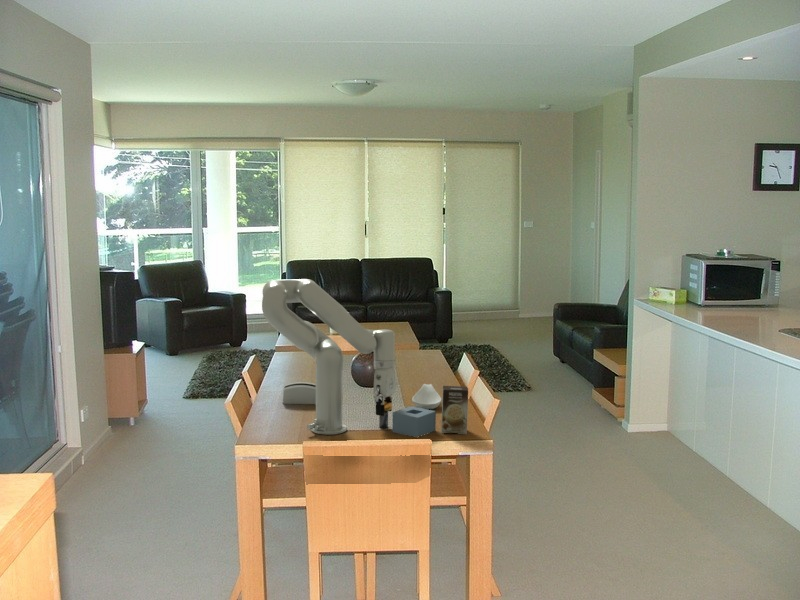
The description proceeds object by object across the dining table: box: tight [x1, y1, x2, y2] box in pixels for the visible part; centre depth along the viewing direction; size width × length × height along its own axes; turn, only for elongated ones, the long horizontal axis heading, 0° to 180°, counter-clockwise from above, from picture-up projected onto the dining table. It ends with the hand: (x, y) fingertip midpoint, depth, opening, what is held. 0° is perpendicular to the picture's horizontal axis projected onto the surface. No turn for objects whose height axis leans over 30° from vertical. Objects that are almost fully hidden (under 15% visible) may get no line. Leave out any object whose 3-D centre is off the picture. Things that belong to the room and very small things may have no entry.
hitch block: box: [391, 405, 437, 438], centre depth 276 cm, size 11×11×7 cm
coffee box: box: [440, 385, 469, 435], centre depth 276 cm, size 9×6×16 cm
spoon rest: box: [411, 383, 442, 410], centre depth 315 cm, size 24×12×7 cm, turn 178°
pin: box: [378, 401, 393, 430], centre depth 281 cm, size 6×6×9 cm
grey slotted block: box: [282, 381, 316, 405], centre depth 314 cm, size 17×5×10 cm, turn 88°
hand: (383, 412), depth 280 cm, fingers closed on pin, 6 cm apart
